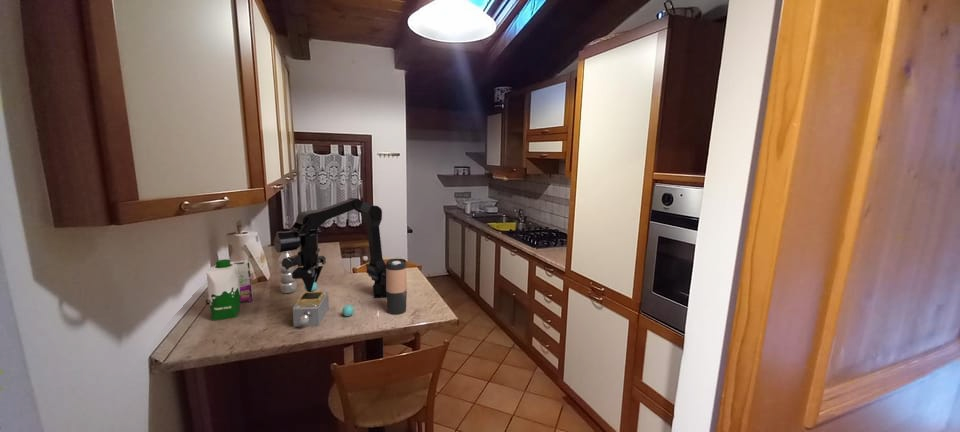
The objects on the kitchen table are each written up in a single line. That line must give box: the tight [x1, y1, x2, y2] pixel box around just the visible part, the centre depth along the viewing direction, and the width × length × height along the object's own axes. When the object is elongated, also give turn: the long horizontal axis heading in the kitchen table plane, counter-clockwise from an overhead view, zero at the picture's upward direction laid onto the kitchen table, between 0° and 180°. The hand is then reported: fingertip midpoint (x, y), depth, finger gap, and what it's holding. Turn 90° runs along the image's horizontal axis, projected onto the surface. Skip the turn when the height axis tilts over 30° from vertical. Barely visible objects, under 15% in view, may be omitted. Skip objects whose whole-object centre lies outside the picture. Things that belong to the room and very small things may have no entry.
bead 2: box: [341, 304, 355, 317], centre depth 125 cm, size 4×4×4 cm
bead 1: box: [304, 282, 318, 292], centre depth 121 cm, size 4×4×4 cm
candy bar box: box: [214, 259, 254, 303], centre depth 134 cm, size 11×5×16 cm, turn 123°
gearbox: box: [292, 290, 330, 328], centre depth 121 cm, size 8×16×8 cm, turn 11°
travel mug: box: [385, 258, 408, 316], centre depth 129 cm, size 8×8×20 cm
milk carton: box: [206, 258, 241, 321], centre depth 122 cm, size 9×9×20 cm
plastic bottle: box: [278, 250, 298, 294], centre depth 145 cm, size 6×7×20 cm
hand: (311, 289), depth 121 cm, fingers closed on bead 1, 4 cm apart
